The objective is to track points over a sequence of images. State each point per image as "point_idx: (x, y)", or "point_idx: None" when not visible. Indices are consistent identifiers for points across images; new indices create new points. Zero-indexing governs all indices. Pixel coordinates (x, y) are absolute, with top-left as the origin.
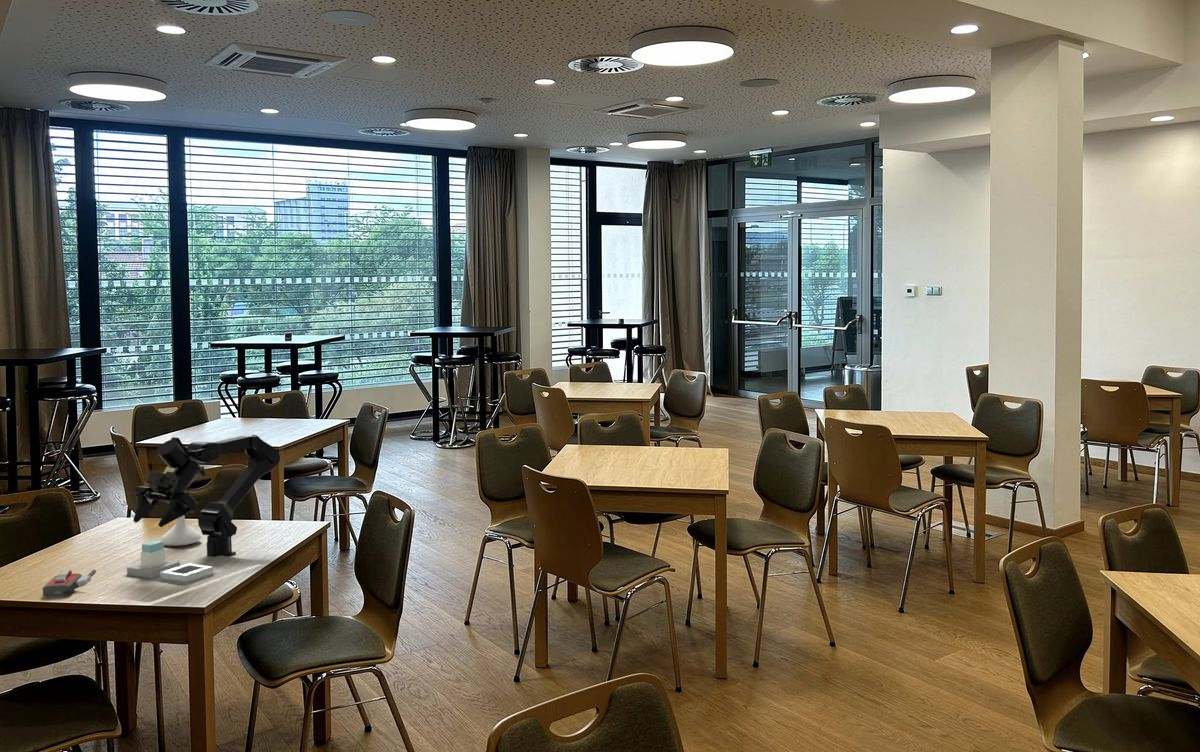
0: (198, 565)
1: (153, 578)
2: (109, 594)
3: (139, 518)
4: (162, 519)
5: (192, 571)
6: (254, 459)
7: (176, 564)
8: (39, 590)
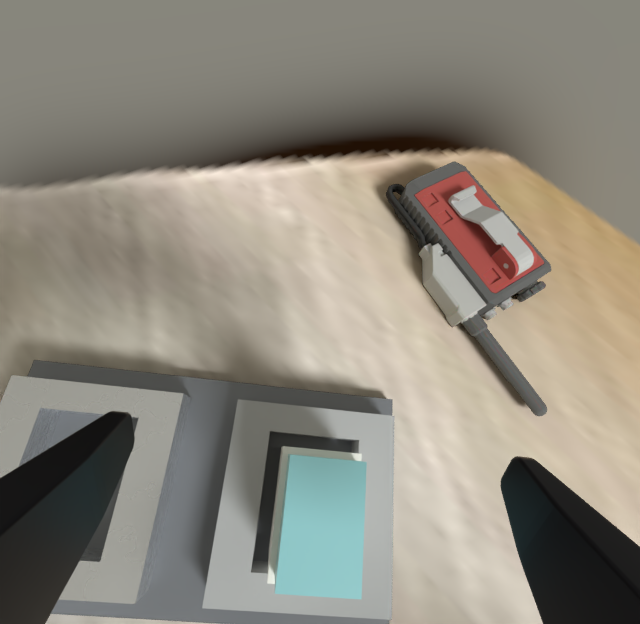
0: None
1: (232, 404)
2: (280, 238)
3: (529, 543)
4: (54, 457)
5: (13, 455)
6: None
7: (209, 577)
8: None
